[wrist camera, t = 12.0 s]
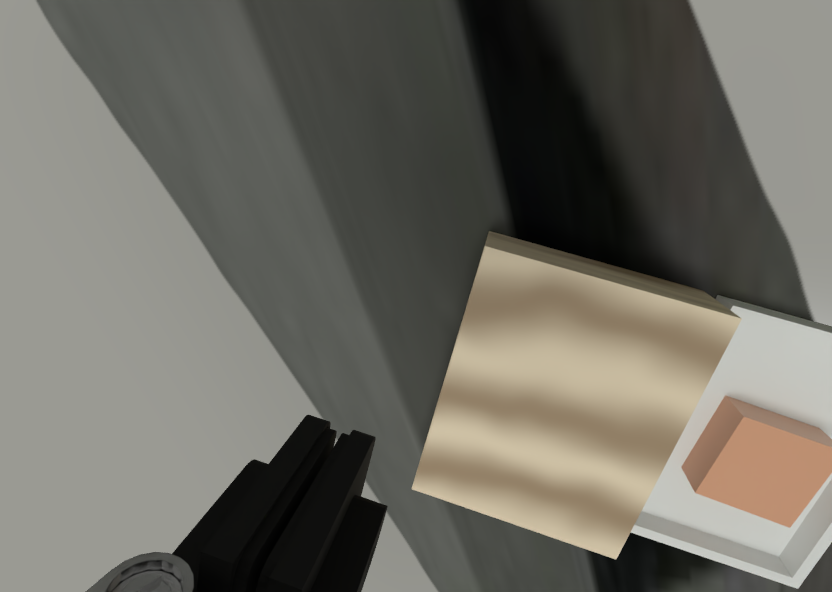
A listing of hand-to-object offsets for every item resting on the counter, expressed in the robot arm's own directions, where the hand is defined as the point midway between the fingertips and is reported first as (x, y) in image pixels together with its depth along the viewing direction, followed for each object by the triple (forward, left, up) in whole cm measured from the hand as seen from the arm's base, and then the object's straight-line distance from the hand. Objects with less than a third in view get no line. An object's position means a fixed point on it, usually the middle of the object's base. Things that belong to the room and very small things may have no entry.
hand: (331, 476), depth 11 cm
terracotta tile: (+9, +26, -24) cm, 36 cm away
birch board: (+8, +10, -27) cm, 30 cm away
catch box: (+8, +26, -27) cm, 38 cm away
